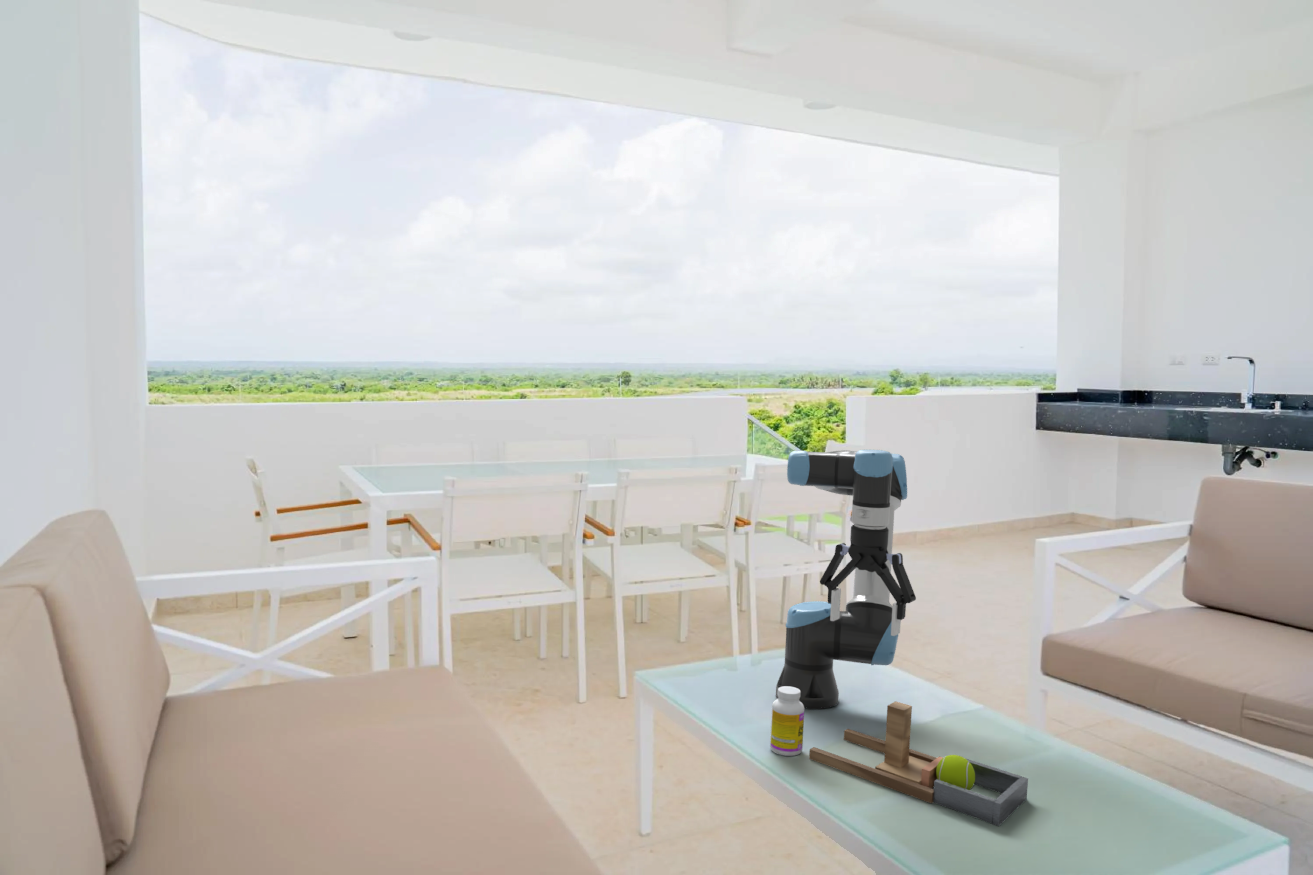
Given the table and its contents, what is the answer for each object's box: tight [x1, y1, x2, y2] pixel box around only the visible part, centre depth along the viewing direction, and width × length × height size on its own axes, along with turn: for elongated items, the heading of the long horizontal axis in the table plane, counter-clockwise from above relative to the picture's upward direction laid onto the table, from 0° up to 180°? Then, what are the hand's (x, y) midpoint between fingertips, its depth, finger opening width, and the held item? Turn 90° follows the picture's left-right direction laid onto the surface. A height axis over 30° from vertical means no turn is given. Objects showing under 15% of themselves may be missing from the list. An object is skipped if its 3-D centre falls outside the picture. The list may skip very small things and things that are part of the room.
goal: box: [932, 757, 1029, 827], centre depth 160 cm, size 14×12×4 cm
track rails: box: [808, 728, 937, 804], centre depth 173 cm, size 16×26×2 cm, turn 48°
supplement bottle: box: [769, 686, 805, 757], centre depth 179 cm, size 7×7×13 cm
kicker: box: [874, 700, 944, 789], centre depth 169 cm, size 10×10×13 cm
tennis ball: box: [936, 754, 975, 791], centre depth 163 cm, size 7×7×7 cm
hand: (864, 626), depth 178 cm, fingers open, 13 cm apart
